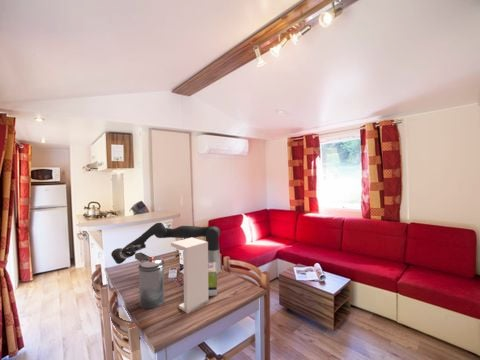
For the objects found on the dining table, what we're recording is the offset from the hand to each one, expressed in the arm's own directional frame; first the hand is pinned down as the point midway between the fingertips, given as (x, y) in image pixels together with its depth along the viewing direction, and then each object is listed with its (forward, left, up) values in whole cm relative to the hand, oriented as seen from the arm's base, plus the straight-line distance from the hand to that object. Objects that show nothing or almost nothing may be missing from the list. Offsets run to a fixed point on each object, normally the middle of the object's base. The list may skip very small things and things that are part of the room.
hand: (137, 247), depth 140 cm
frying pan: (-24, -42, -28) cm, 56 cm away
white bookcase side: (-25, +29, -27) cm, 47 cm away
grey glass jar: (-6, +18, -27) cm, 33 cm away
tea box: (-39, +20, -28) cm, 52 cm away
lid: (-4, +12, -6) cm, 14 cm away
